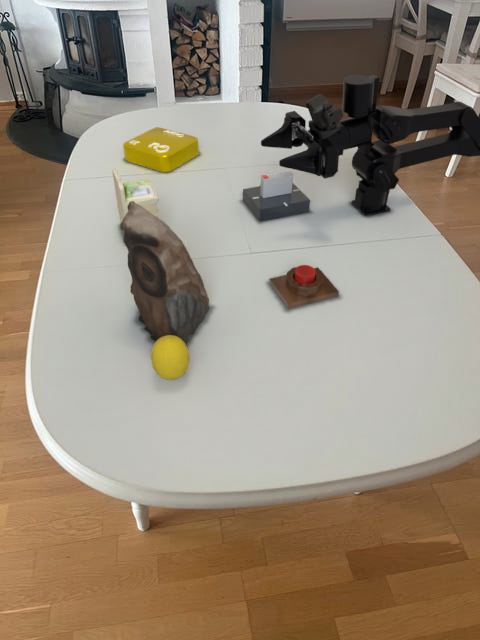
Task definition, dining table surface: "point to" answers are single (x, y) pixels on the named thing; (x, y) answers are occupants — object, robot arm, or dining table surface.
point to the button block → (303, 289)
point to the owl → (162, 276)
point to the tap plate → (275, 203)
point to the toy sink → (134, 195)
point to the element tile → (161, 149)
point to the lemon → (170, 357)
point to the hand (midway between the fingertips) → (270, 153)
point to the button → (304, 274)
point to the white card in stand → (276, 184)
